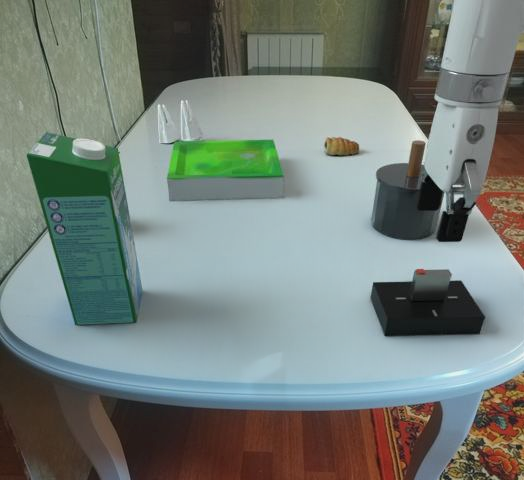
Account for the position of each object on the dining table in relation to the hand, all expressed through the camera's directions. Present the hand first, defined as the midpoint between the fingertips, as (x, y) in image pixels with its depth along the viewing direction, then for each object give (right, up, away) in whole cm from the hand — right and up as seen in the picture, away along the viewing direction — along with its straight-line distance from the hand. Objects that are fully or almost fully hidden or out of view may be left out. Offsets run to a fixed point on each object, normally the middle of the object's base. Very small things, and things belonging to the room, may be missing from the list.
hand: (437, 224), depth 69 cm
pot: (+4, +8, +32) cm, 33 cm away
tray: (-33, +24, +52) cm, 66 cm away
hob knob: (0, -10, +6) cm, 11 cm away
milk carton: (-48, -11, +9) cm, 50 cm away
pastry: (-3, +36, +67) cm, 76 cm away
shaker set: (-47, +41, +73) cm, 96 cm away
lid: (+4, +15, +26) cm, 30 cm away
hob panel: (0, -12, +8) cm, 14 cm away
